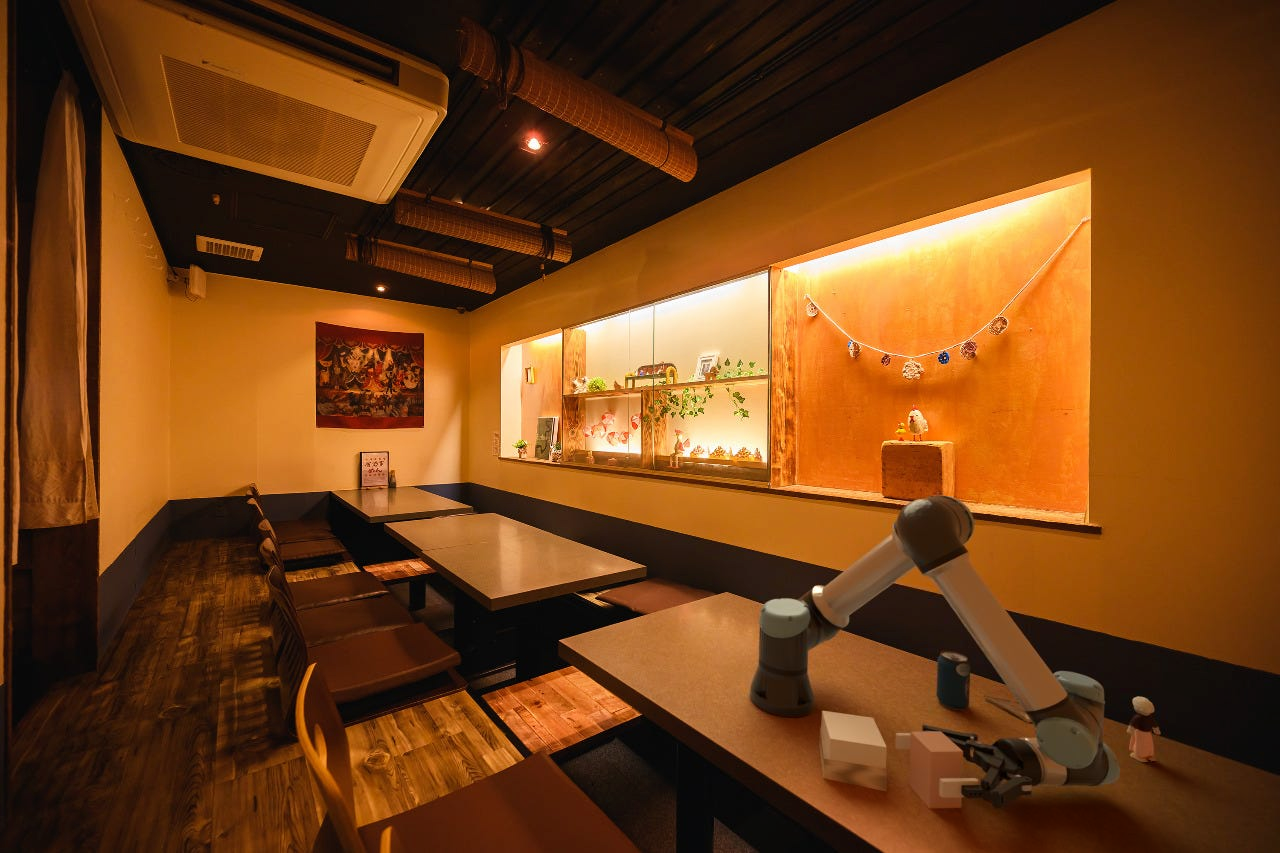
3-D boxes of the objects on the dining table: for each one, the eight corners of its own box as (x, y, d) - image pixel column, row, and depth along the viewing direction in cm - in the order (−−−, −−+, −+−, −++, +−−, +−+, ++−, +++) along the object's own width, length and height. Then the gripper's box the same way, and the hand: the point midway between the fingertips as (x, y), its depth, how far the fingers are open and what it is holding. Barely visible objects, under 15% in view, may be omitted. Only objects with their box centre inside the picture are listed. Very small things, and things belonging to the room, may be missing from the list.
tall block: (929, 808, 89) (931, 751, 90) (908, 784, 95) (910, 731, 96) (961, 807, 90) (963, 751, 90) (938, 784, 96) (940, 731, 96)
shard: (983, 701, 129) (983, 694, 129) (1005, 697, 131) (1005, 690, 131) (1027, 725, 118) (1027, 717, 118) (1050, 720, 120) (1050, 713, 120)
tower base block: (823, 779, 96) (824, 758, 96) (819, 745, 107) (820, 726, 107) (886, 793, 93) (887, 771, 93) (875, 757, 104) (876, 737, 104)
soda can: (974, 713, 121) (975, 663, 122) (942, 709, 123) (944, 659, 123) (961, 698, 128) (963, 651, 128) (932, 695, 130) (933, 648, 130)
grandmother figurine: (1140, 749, 109) (1141, 690, 110) (1163, 760, 106) (1165, 699, 106) (1118, 756, 107) (1120, 695, 107) (1141, 767, 103) (1143, 705, 103)
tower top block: (829, 759, 96) (830, 738, 96) (821, 729, 106) (822, 710, 106) (885, 768, 94) (886, 747, 94) (872, 737, 104) (873, 717, 104)
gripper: (1089, 834, 82) (964, 837, 80) (977, 741, 106) (879, 742, 105) (1091, 787, 82) (965, 789, 80) (978, 705, 106) (880, 706, 105)
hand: (916, 763), depth 92 cm, fingers open, 12 cm apart
